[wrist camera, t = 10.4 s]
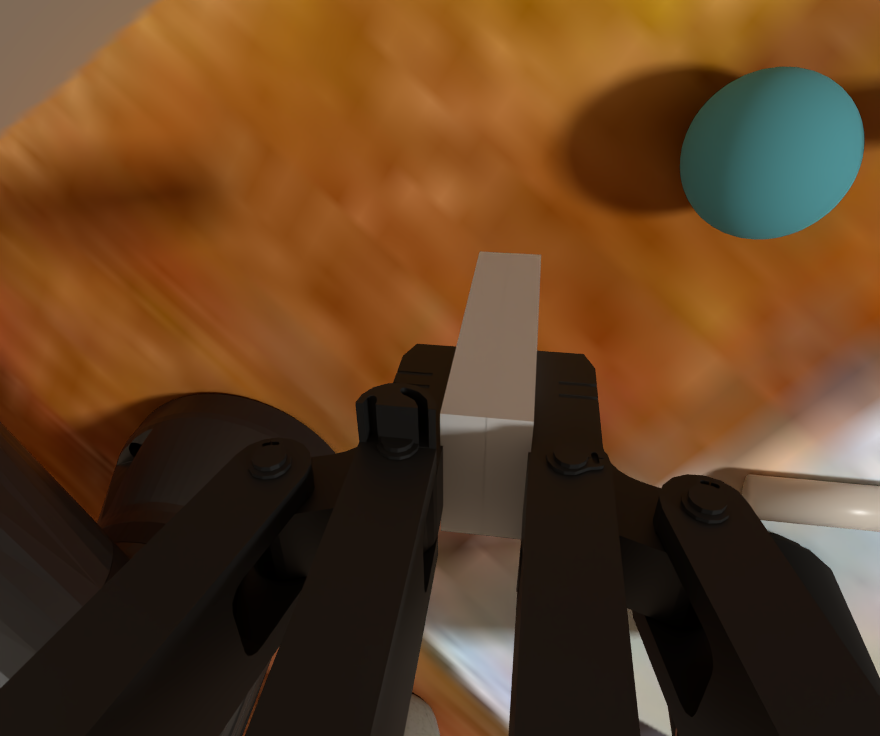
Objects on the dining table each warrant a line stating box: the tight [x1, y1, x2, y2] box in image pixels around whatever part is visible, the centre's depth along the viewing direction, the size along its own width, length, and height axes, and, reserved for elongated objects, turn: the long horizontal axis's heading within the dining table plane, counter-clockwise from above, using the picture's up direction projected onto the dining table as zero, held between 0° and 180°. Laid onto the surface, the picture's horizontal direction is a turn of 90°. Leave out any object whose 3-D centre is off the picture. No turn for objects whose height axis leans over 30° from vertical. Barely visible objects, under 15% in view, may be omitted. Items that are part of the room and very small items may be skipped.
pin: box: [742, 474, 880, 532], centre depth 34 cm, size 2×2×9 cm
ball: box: [680, 67, 864, 239], centre depth 23 cm, size 6×6×6 cm
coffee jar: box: [668, 533, 880, 736], centre depth 33 cm, size 11×11×18 cm
